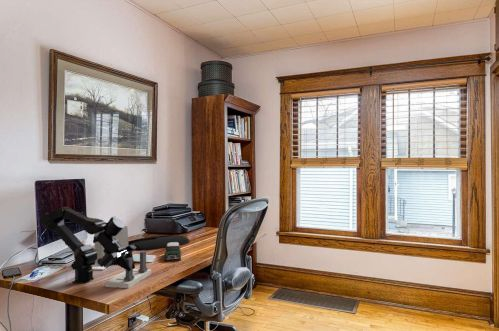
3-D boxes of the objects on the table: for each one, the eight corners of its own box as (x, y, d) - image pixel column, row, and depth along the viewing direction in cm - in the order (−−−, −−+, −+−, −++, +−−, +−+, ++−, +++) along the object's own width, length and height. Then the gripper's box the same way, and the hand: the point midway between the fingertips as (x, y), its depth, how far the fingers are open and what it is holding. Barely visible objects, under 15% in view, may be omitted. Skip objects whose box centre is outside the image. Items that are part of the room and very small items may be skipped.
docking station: (195, 244, 223) (195, 237, 223) (134, 253, 200) (134, 244, 200) (181, 238, 244) (181, 231, 244) (124, 245, 221) (124, 237, 221)
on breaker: (138, 271, 153) (138, 252, 153) (142, 269, 157) (142, 250, 157) (143, 272, 153) (143, 252, 153) (147, 269, 156) (147, 250, 156)
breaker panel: (104, 286, 141) (104, 281, 141) (129, 272, 160) (129, 268, 160) (128, 288, 139) (128, 283, 139) (150, 273, 158) (150, 269, 158)
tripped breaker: (123, 280, 141) (124, 259, 142) (128, 277, 145) (128, 257, 145) (129, 280, 141) (130, 259, 141) (134, 278, 144) (134, 257, 145)
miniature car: (163, 262, 178) (163, 247, 178) (165, 254, 195) (165, 241, 196) (180, 261, 180) (180, 247, 180) (180, 253, 197) (180, 240, 197)
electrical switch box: (118, 259, 193) (116, 224, 195) (129, 260, 182) (127, 223, 185) (92, 264, 183) (90, 227, 185) (102, 265, 172) (100, 226, 174)
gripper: (110, 250, 155) (131, 275, 153) (83, 261, 137) (107, 289, 134) (125, 234, 154) (147, 259, 152) (100, 242, 135) (125, 271, 133)
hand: (132, 269), depth 143 cm, fingers closed on tripped breaker, 3 cm apart
